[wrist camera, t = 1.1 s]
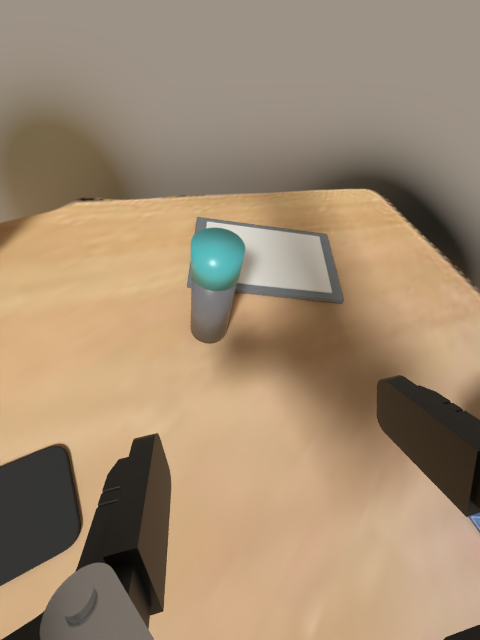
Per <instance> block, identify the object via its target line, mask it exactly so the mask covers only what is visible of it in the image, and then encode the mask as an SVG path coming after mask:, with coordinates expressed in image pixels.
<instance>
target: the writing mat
mask: <svg viewBox="0 0 480 640" xmlns="http://www.w3.org/2000/svg"><path fill="white" fill-rule="evenodd" d="M206 228H223V229H227V230H230V231H232V232H234V233H235V234H237V235H238V236H239V237H240V238H241V239H242V240H243V242H244V244H245V254H244V258H243V263H242V267H241V272H240V276H239V280H238V282H237V285H236V289H235V292H237V293H246V294H256V295H266V296H276V297H285V298H295V299H305V300H314V301H324V302H334V303H343V301H344V299H343V295H342V291H341V287H340V283H339V279H338V275H337V271H336V267H335V264H334V260H333V256H332V252H331V248H330V244H329V240H328V236H327V234H321V233H313V232H306V231H299V230H291V229H284V228H276V227H269V226H261V225H254V224H246V223H239V222H231V221H224V220H217V219H209V218H202V217H197V221H196V228H195V234H196V233H197V232H199V231H201V230H203V229H206ZM187 287H188V288H192V276H191V262H190V269H189V276H188V283H187Z"/></svg>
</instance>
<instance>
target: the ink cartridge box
mask: <svg viewBox="0 0 480 640" xmlns="http://www.w3.org/2000/svg"><path fill="white" fill-rule="evenodd" d="M469 518H470V519H471V520H472V522H473V523H474V524H475V526H476V527H477V529H478V530H479V532H480V513H477V514H474V515H471V516H469Z"/></svg>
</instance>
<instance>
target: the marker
mask: <svg viewBox="0 0 480 640" xmlns="http://www.w3.org/2000/svg"><path fill="white" fill-rule="evenodd" d="M244 254H245V244H244V242H243V240H242V239H241V238H240V237H239V236H238V235H237V234H235V233H234V232H232V231H230V230H227V229H223V228H206V229H203V230H201V231H199V232H197V233H196V234H195V235H194V236H193V238H192V240H191V276H192V291H191V332H192V334H193V336H194V337H195V338H196V339H197V340H199V341H201V342H204V343H215V342H218V341H220V340H221V339H222V338H223V337H224V336H225V334H226V331H227V326H228V321H229V317H230V312H231V308H232V303H233V298H234V294H235V289H236V285H237V282H238V280H239V276H240V272H241V267H242V263H243V258H244Z"/></svg>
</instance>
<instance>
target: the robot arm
mask: <svg viewBox="0 0 480 640" xmlns="http://www.w3.org/2000/svg"><path fill="white" fill-rule="evenodd" d="M377 419H378V422H379V424H380V426H381V428H382V430H383V431H384V432H385V433H386V434H387V435H388V437H389V438H390V439H391V440H392V441H393V442H394V443H395V444H396V445H397V446H398V447H399V448H400V449H401V450H402V451H403V452H404V453H405V454H406V455H407V456H408V457H409V458H410V459H411V460H412V461H413V462H414V463H415V464H416V465H417V466H418V467H419V468H420V470H421V471H422V472H423V473H424V474H425V475H426V476H427V477H428V478H429V479H430V480H431V481H432V482H433V483H434V484H435V485H436V486H437V487H438V488H439V489H440V490H441V491H442V492H443V493H444V494H445V495H446V496H447V497H448V498H449V499H450V500H451V501H452V503H453V504H454V505H455V506H456V507H457V508H458V509H459V510H460V511H461V512H462V513H463V514H464V515H465V516H466V517H468V516H471V515H474V514H477V513H480V420H478V419H477V418H475V417H474V416H472V415H471V414H469V413H468V412H466V411H463V410H462V408H460V407H459V406H457V405H456V404H454V403H451V402H450V401H449V400H448V399H446V398H445V397H443V396H442V395H440V394H439V393H437V392H435V391H433V390H430V389H427V388H425V387H422V386H417V385H415V384H414V383H412V382H411V381H409V380H408V379H407V378H405V377H403V376H401V375H399V376H394V377H390V378H386V379H382V380H379V381H378V384H377ZM102 491H103V494H101V497H100V500H99V503H98V508H97V509H96V512H95V515H94V518H93V521H92V524H91V527H90V530H89V533H88V536H87V539H86V542H85V546H84V549H83V552H82V555H81V558H80V561H79V564H78V567H77V569H76V572H75V573H73V574H72V575H71V576H70V577H69V578H67V579H66V580H65V581H64V582H63V583H62V585H61V586H60V587H59V588H58V589H57V591H56V592H55V593H54V595H53V596H52V598H51V600H50V601H49V603H48V605H47V607H46V609H45V611H44V612H43V613H42V614H40V615H39V616H37V617H36V618H35V619H33V620H32V621H30V622H28V623H27V624H25V625H24V626H22V627H21V628H19V629H18V630H16V631H14V632H13V633H11V634H10V635H8V636H7V637H5V638H3V639H2V640H154V638H153V637H152V635H151V633H150V632H149V630H148V628H149V618H150V615H153V614H156V613H160V612H163V608H164V593H165V577H166V561H167V546H168V530H169V515H170V499H171V476H170V470H169V466H168V463H167V459H166V456H165V453H164V449H163V446H162V443H161V440H160V437H159V435H158V433H156V434H152V435H147V436H143V437H139V438H135V439H134V440H133V443H132V446H131V450H130V454H129V457H126V458H122V459H119V460H118V461H117V463H116V464H115V465H114V467H113V468H112V469H111V471H110V472H109V473H108V475H107V478H106V481H105V484H104V487H103V490H102ZM444 640H480V625H477V626H475V627H472V628H469V629H467V630H464V631H461V632H459V633H456V634H453V635H450V636H448V637H446V638H445V639H444Z"/></svg>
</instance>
